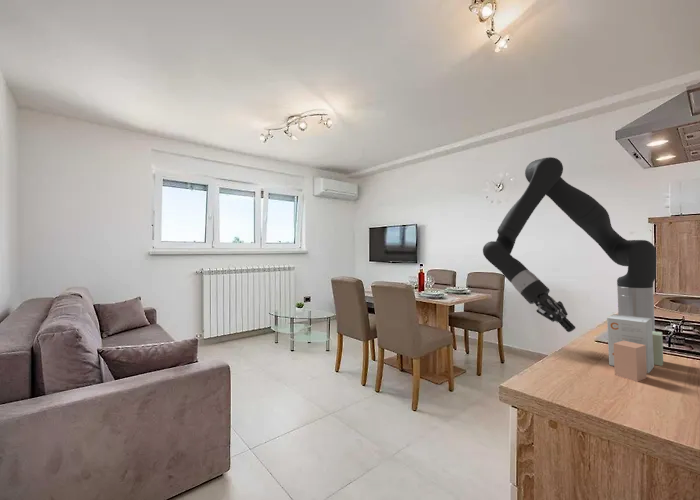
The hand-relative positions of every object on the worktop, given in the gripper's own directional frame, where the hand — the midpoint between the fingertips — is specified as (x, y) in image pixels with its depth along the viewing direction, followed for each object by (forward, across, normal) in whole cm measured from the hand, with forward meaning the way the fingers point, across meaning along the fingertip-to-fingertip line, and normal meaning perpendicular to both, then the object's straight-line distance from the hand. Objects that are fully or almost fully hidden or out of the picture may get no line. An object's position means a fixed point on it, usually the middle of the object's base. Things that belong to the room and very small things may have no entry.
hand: (572, 330), depth 95 cm
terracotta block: (+16, -8, -6) cm, 19 cm away
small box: (+15, 0, -4) cm, 15 cm away
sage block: (+16, +8, -6) cm, 19 cm away
